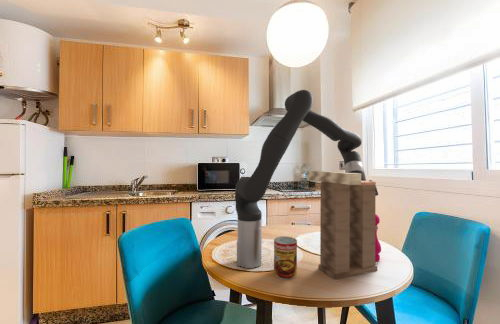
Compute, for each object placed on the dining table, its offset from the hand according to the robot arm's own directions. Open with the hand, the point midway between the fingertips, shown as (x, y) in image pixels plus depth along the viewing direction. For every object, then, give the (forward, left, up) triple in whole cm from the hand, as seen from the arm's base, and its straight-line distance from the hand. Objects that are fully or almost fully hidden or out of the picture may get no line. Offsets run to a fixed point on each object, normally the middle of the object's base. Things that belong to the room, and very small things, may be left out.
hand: (361, 210), depth 96 cm
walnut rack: (-8, -7, -20) cm, 23 cm away
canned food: (-31, -12, -21) cm, 39 cm away
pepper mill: (+5, +4, -21) cm, 22 cm away
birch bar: (-14, -8, +12) cm, 20 cm away
